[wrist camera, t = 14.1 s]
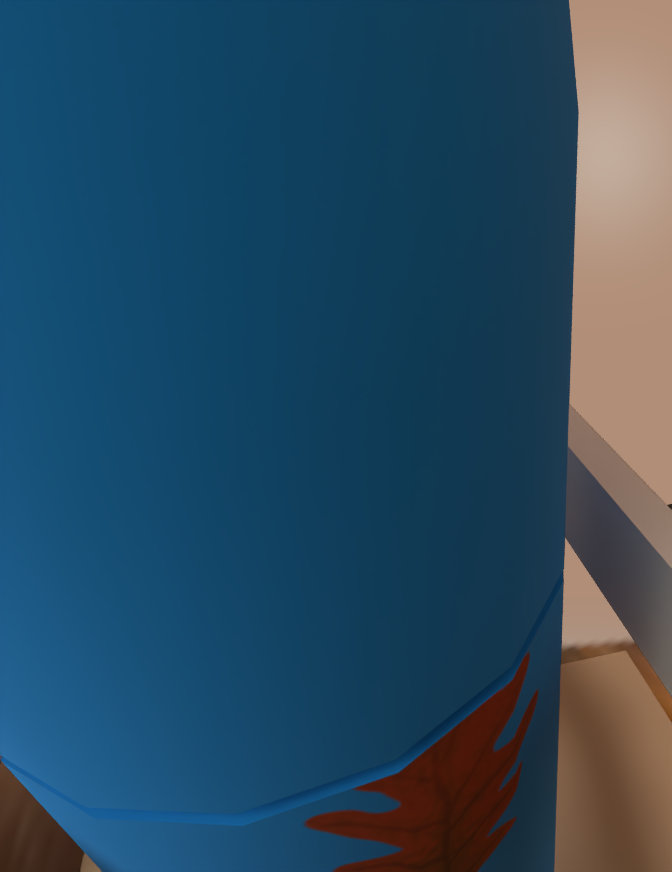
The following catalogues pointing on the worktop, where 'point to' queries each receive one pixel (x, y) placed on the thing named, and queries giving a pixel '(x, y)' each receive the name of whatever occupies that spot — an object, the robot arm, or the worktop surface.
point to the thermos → (286, 428)
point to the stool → (607, 771)
